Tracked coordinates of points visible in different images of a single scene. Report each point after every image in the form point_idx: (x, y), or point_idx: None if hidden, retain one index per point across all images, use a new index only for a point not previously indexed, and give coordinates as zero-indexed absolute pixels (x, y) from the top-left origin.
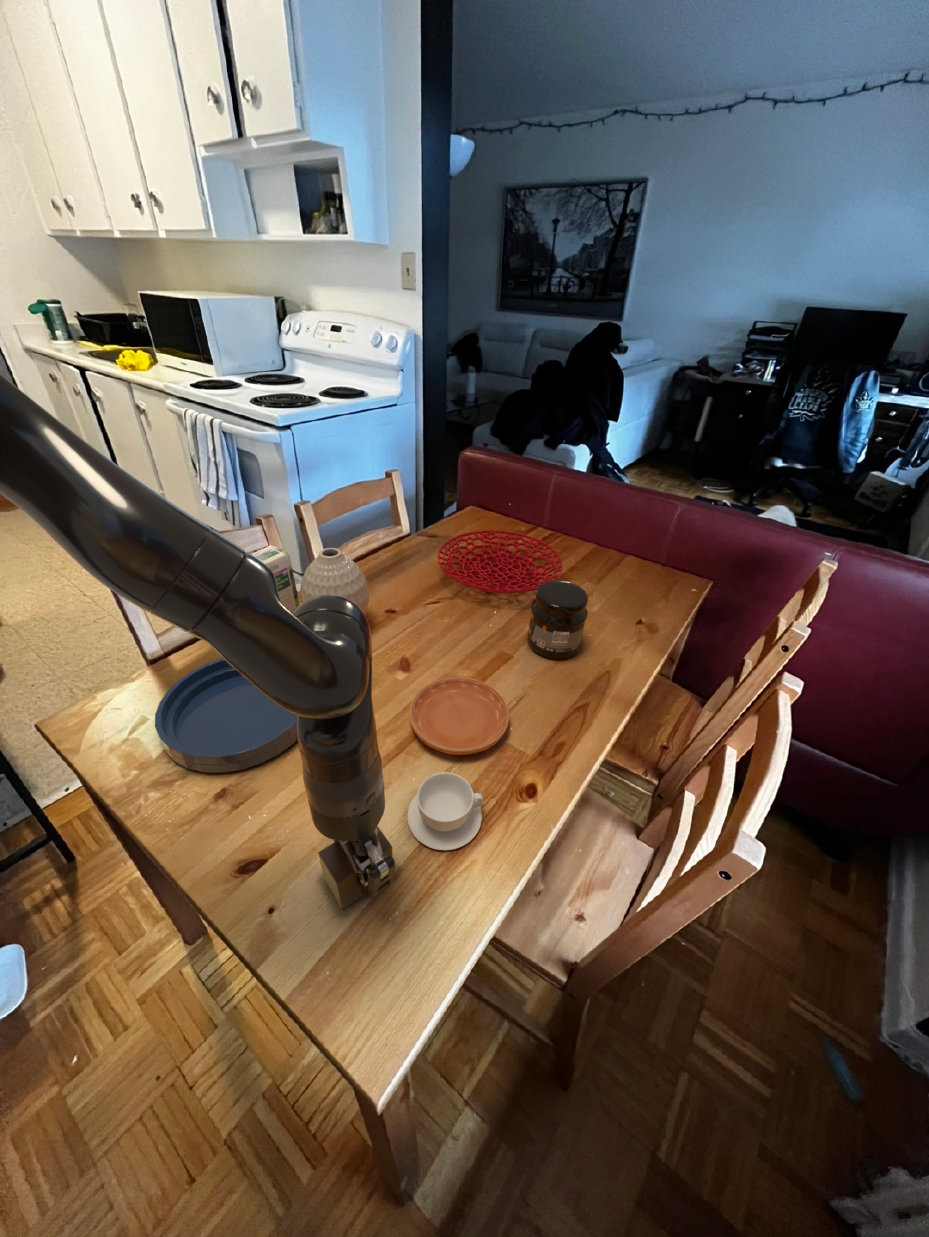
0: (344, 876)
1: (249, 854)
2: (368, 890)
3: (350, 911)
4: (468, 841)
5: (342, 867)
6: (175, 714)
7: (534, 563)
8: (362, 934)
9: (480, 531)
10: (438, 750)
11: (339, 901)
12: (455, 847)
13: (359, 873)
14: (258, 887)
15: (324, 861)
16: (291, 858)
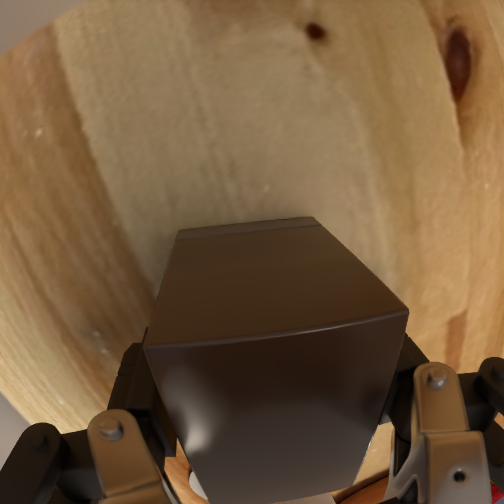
0: (168, 392)
1: (484, 77)
2: (132, 371)
3: (161, 251)
4: (192, 488)
5: (229, 398)
6: None
7: None
8: (83, 256)
9: (500, 497)
10: (377, 494)
11: (183, 245)
12: (192, 476)
13: (125, 466)
14: (402, 40)
15: (336, 327)
16: (429, 156)
